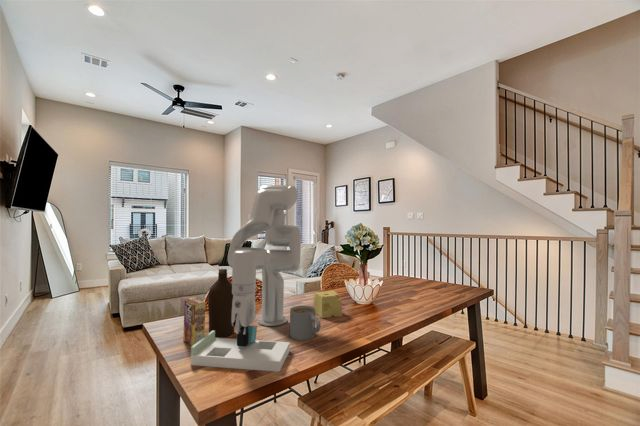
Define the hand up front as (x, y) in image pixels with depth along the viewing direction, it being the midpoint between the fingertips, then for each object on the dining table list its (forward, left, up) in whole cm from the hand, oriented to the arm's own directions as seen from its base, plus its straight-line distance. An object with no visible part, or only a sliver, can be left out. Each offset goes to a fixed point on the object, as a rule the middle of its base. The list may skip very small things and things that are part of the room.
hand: (242, 345), depth 97 cm
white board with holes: (0, 0, -4) cm, 4 cm away
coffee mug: (-21, +17, -5) cm, 28 cm away
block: (-4, 0, 0) cm, 4 cm away
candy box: (-9, -22, -5) cm, 24 cm away
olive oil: (-19, -16, -5) cm, 26 cm away
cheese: (-49, +23, -5) cm, 55 cm away
